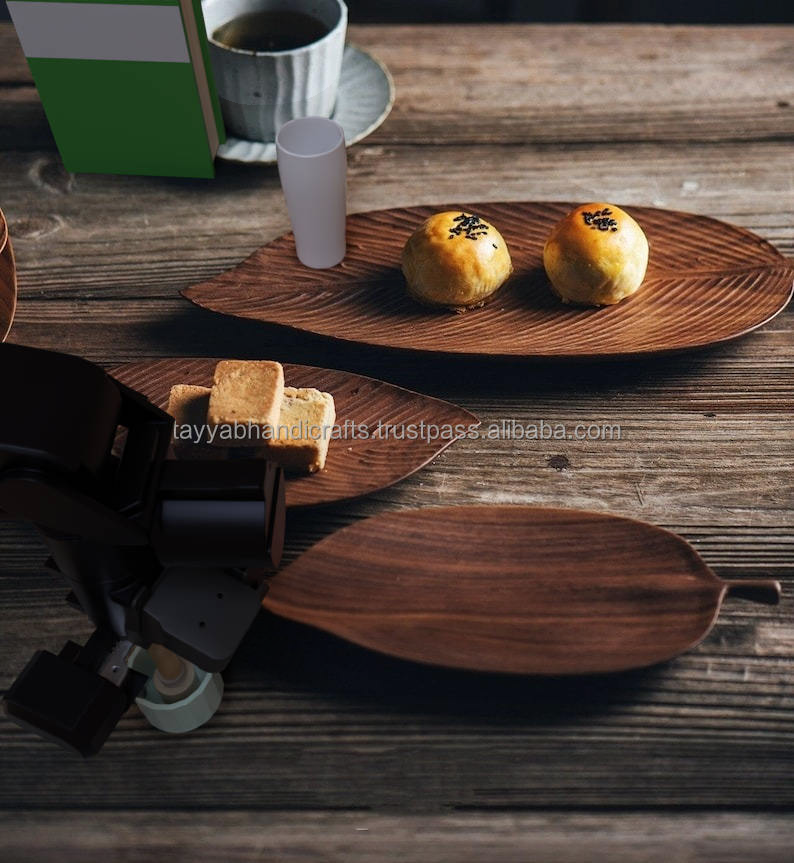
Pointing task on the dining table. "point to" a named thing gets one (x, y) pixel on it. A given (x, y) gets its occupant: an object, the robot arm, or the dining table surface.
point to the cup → (183, 712)
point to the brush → (172, 675)
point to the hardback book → (124, 84)
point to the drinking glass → (314, 187)
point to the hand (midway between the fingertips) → (163, 656)
